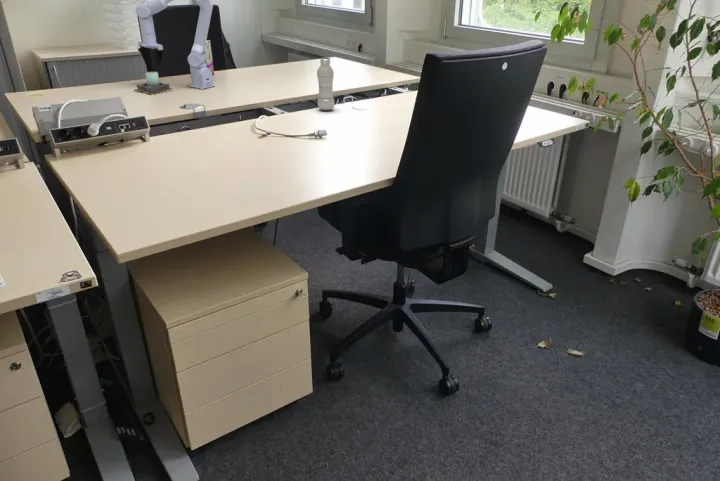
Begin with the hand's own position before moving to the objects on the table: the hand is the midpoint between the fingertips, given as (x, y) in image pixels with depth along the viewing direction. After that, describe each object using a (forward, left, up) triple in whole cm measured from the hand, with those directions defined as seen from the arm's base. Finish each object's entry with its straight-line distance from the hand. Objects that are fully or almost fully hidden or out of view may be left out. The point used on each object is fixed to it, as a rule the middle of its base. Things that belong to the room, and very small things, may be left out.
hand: (153, 65), depth 246 cm
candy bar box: (-2, -28, -10) cm, 30 cm away
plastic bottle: (-87, -15, -10) cm, 89 cm away
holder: (-6, +6, -9) cm, 13 cm away
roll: (-6, +6, -9) cm, 12 cm away
